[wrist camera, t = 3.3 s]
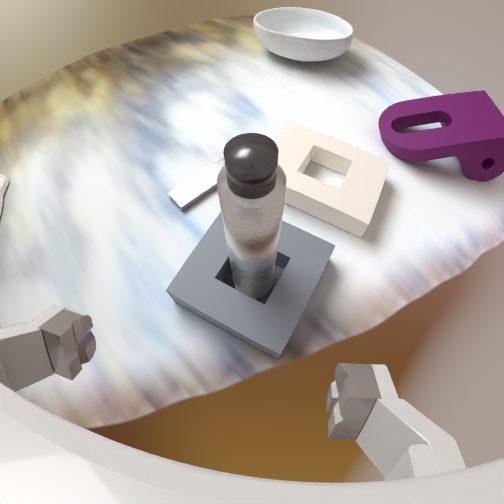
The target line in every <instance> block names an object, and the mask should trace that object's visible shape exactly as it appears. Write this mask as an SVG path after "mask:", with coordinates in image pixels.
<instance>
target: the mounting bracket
mask: <svg viewBox="0 0 504 504" xmlns="http://www.w3.org/2000/svg"><path fill="white" fill-rule="evenodd" d="M436 122H440V123H441V126H442V127H441V128H434V129H428V130H422V131H417V132H411V133H404V134H403V133H398V132H396V131H397V130H398V129H402V128H407V127H413V126H418V125H424V124H430V123H436ZM379 129H380V134H381V139H382V141H383V143H384V145H385V146H386V148H387V149H388V150H389V151H390V152H391V153H392V154H394V155H395V156H397V157H399V158H402V159H405V160H409V161H418V162H419V161H428V160H434V159H440V158H446V157H452V156H458V160H459V162H460V164H461V166H462V169H463V171H464V173H465V175H466V177H467V178H468V179H471V180H476V181H481V182H485V181H489V180H492V179H494V178H496V177H497V176H499V175H500V174H502V173H503V172H504V116H503V115H502V114H501V112H500V111H499V109H498V108H497V106H496V105H495V104H494V103H493V101H492V100H491V98H490V97H489V96H488V94H487V93H486V92H485V91H473V92H463V93H455V94H447V95H439V96H432V97H426V98H419V99H413V100H407V101H402V102H398V103H395V104H393V105H391V106H389V107H388V108H387V109H385V110H384V111H383V113H382V114H381V116H380V118H379Z"/></svg>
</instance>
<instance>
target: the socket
mask: <svg viewBox="0 0 504 504" xmlns="http://www.w3.org/2000/svg"><path fill="white" fill-rule="evenodd" d="M334 248H335V245H333V244H331V243H329V242H327V241H325V240H323V239H321V238H318V237H316V236H314V235H312V234H310V233H308V232H306V231H304V230H301V229H299V228H297V227H295V226H293V225H291V224H289V223H286V222H284V221H282V222H281V230H280V237H279V245H278V252H277V259H276V265H278V266H280V267H282V268H284V271H283V273H282V275H281V277H280V278H279V280H278V282H277V284H276V285H275V287H274V289H273V291H272V293H271V294H270V296H269V298H268V300H267V301H266V303H265V304H263V303H261V302H259V301H257V300H255V299H253V298H251V297H249V296H247V295H246V294H244V293H242V292H240V291H238V290H236V289H234V288H232V287H230V286H229V285H227V284H225V283H223V281H224V279H225V278H226V276H227V274H228V273H229V271H230V270H231V265H230V259H229V253H228V247H227V242H226V236H225V230H224V224H223V218H222V212H221V213H220V214H219V215H218V217H217V218H216V219H215V221H214V222H213V224H212V225H211V226H210V228H209V229H208V231H207V232H206V233H205V235H204V236H203V238H202V239H201V240H200V242H199V243H198V245H197V246H196V248H195V249H194V250H193V252H192V253H191V255H190V256H189V258H188V259H187V260H186V262H185V263H184V265H183V266H182V268H181V269H180V271H179V272H178V273H177V275H176V276H175V278H174V279H173V281H172V282H171V284H170V285H169V287H168V288H167V290H166V291H167V292H168V294H169V295H170V296H171V298H172V299H173V300H174V301H175V302H177V303H179V304H180V305H182V306H184V307H185V308H187V309H189V310H190V311H192V312H194V313H196V314H197V315H199V316H201V317H202V318H204V319H206V320H208V321H209V322H211V323H213V324H215V325H216V326H218V327H220V328H222V329H223V330H225V331H227V332H229V333H231V334H232V335H234V336H236V337H238V338H240V339H241V340H243V341H245V342H247V343H249V344H251V345H253V346H254V347H256V348H258V349H260V350H262V351H264V352H266V353H268V354H270V355H272V356H274V357H276V358H277V359H278V358H279V357H280V355H281V353H282V351H283V349H284V348H285V346H286V344H287V342H288V340H289V338H290V336H291V334H292V333H293V331H294V329H295V327H296V325H297V323H298V321H299V319H300V317H301V315H302V313H303V311H304V309H305V307H306V305H307V304H308V302H309V300H310V298H311V296H312V294H313V291H314V289H315V287H316V285H317V283H318V281H319V279H320V277H321V275H322V273H323V271H324V269H325V267H326V265H327V263H328V260H329V258H330V256H331V254H332V252H333V250H334Z"/></svg>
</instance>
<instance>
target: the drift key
mask: <svg viewBox="0 0 504 504" xmlns="http://www.w3.org/2000/svg"><path fill="white" fill-rule="evenodd" d="M224 165H225V161H224V158H222V159H220V160H219V161H217V162H216V163H214V164H212V165H211V166H209V167H208V168H206V169H204V170H203V171H201V172H200V173H198V174H197V175H195V176H194V177H192V178H191V179H189V180H188V181H186V182H185V183H183V184H182V185H180V186H179V187H177V188H176V189H174V190H173V191H171V192H170V193H168V194H169V196H170V198H171V199H172V200H173V202H174V203H175V204H176V205H177V206H178V207H179V208H180V209H181V210H182V211H184V210H186V209H187V208H189V207H190V206H192V205H193V204H194V203H196V202H197V201H199V200H200V199H202V198H203V197H205V196H206V195H207V194H209V193H210V192H212V191H213V190H215V189H216V188H217V177H218V174H219V172H220V170H221V169H222V168H223V166H224Z"/></svg>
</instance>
